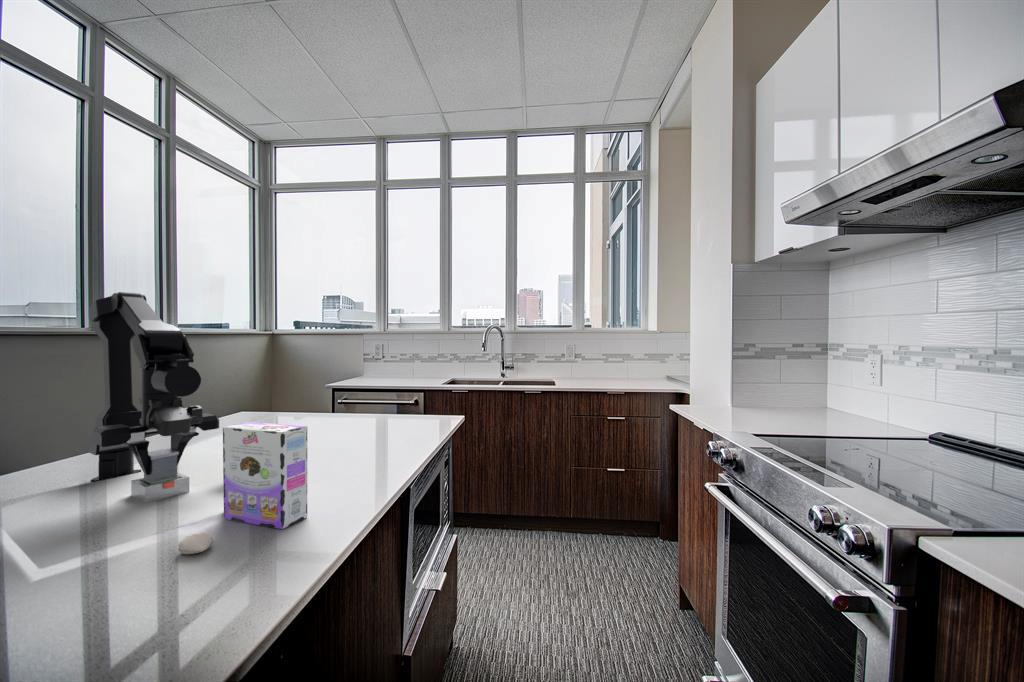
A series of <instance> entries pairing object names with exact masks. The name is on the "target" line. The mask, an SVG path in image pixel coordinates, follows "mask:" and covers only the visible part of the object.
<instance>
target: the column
mask: <svg viewBox="0 0 1024 682" xmlns="http://www.w3.org/2000/svg"><path fill="white" fill-rule="evenodd" d="M178 454H179V451H176V450H173V449H171V447H169V448H164V449H163V448H162V449H157V450H152V451H148V457H149V466H150V469H149V475H145V474H144V473H143V477H142V479H141V482H143V483H145V484H147V485H152V484H157V483H161V482H165V481H170V480H174V479H179V478H180V476H177V472H178V466H177V455H178Z"/></svg>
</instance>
